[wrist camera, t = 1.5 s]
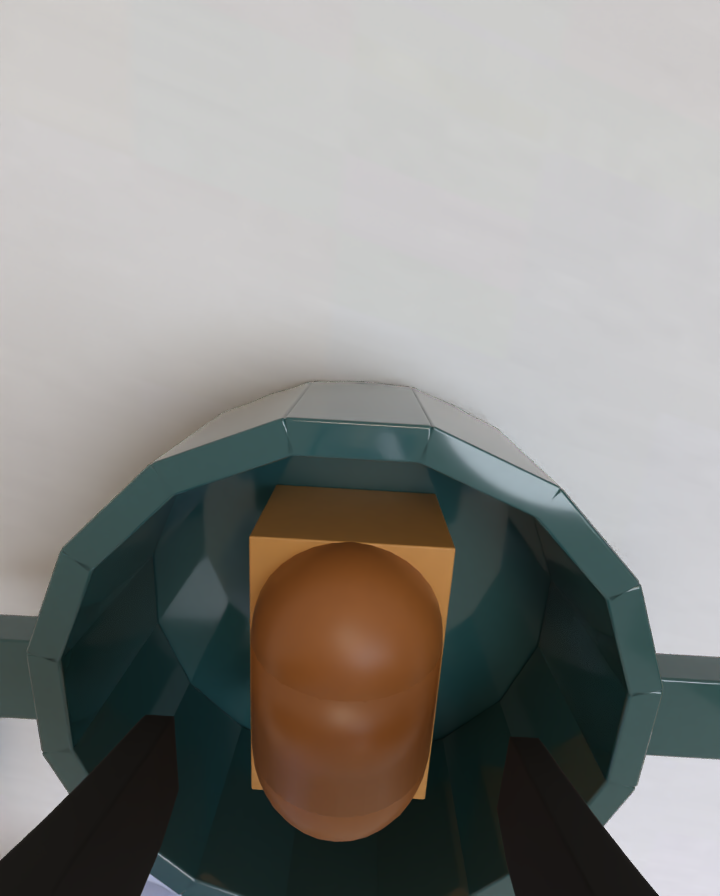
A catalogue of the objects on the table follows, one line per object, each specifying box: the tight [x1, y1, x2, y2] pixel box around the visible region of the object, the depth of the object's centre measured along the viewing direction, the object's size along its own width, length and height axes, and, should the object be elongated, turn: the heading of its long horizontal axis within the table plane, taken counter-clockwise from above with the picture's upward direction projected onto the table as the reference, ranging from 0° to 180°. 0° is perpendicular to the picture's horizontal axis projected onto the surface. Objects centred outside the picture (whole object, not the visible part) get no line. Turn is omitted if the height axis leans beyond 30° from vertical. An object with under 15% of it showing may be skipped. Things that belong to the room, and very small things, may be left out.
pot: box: [0, 381, 720, 896], centre depth 14 cm, size 15×20×6 cm
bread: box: [249, 485, 455, 842], centre depth 13 cm, size 8×5×6 cm, turn 177°
